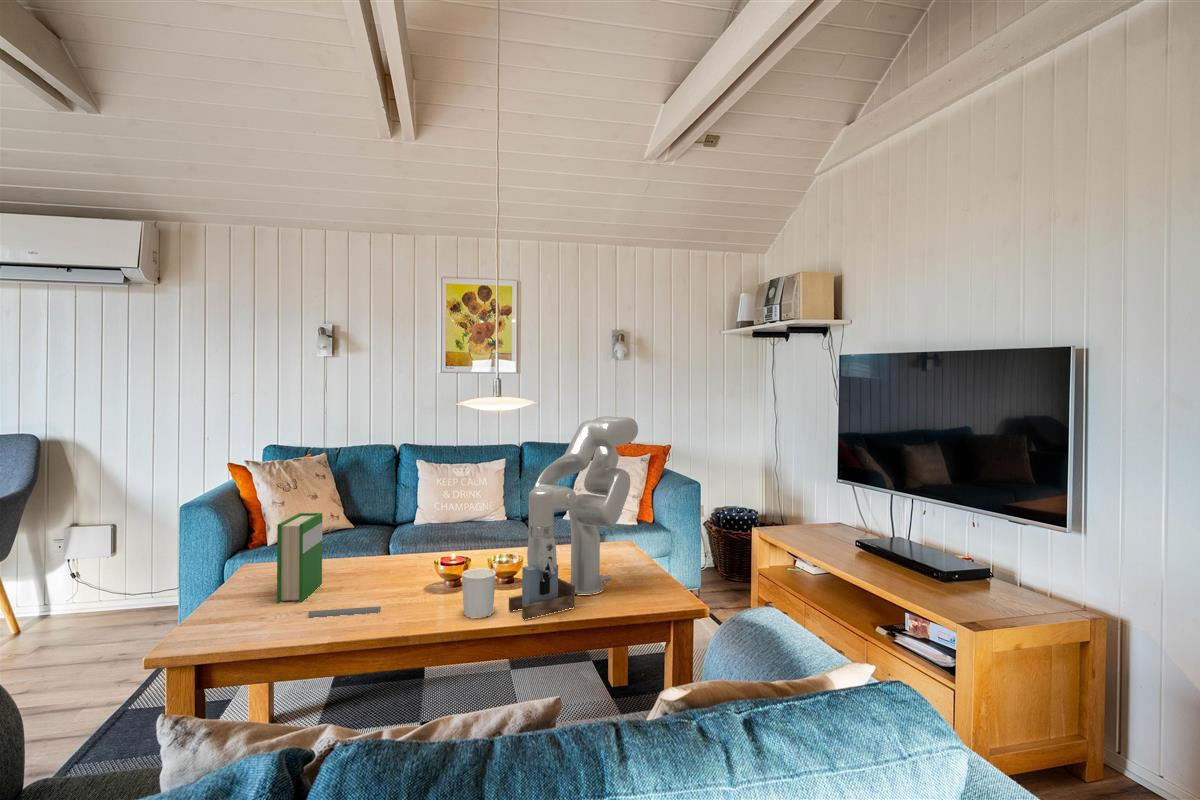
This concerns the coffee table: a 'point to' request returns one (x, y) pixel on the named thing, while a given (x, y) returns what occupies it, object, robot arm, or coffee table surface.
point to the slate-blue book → (537, 586)
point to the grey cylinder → (478, 592)
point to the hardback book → (299, 556)
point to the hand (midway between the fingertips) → (540, 591)
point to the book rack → (546, 602)
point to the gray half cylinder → (343, 612)
